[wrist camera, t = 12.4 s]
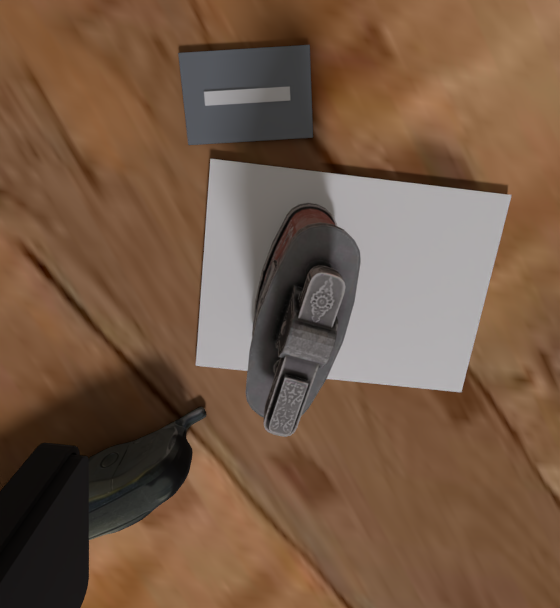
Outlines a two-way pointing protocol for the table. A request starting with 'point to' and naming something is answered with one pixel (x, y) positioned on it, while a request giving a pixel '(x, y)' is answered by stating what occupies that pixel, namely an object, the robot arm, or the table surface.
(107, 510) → the dark elongated piece
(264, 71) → the plate
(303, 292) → the lighter
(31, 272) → the table surface
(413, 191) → the paper
